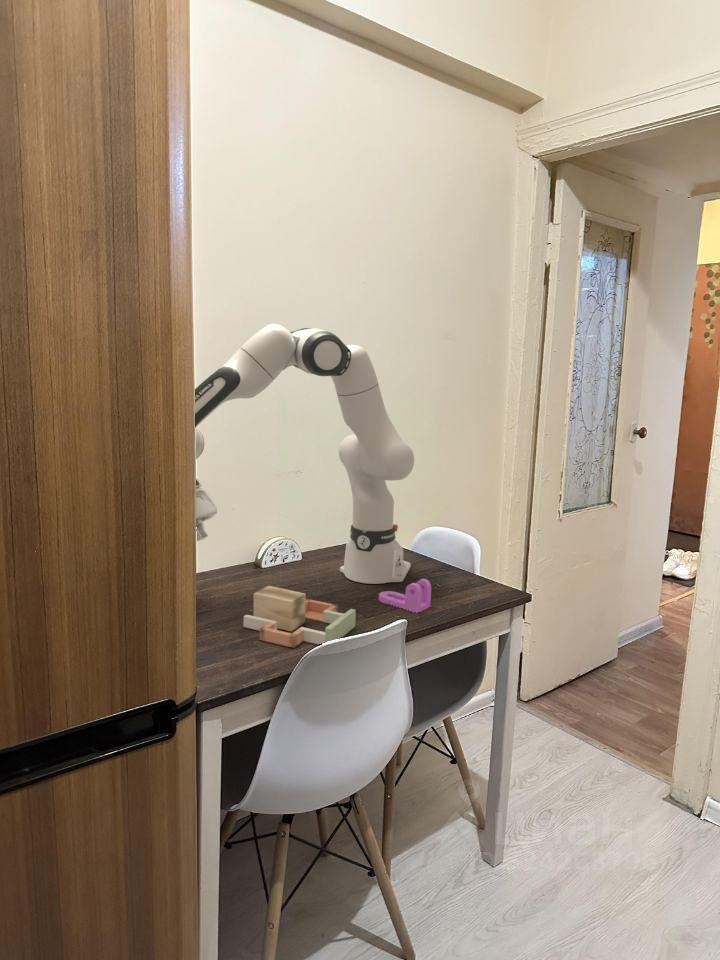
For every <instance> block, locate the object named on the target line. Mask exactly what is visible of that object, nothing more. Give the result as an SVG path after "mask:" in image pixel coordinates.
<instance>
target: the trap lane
mask: <svg viewBox="0 0 720 960" xmlns="http://www.w3.org/2000/svg"><path fill="white" fill-rule="evenodd" d="M356 611H357V610H356V609H353V608H350V609H349V610H347V611H346V612H345V613H343V612H339V605H338V604H333V603H329V602H325V601H324V602H323V601H320V600H319V601H318V600H316V599H315V600H314V599H310V598H306V604H305V619H309V620H313V621H318V622H321V623H325V624H329V625H328V626H326V627H324V628H325V629H324V630H325V631H321V630H317V629H312V628H308V627H304V626H301V627H300V626H299V627H298V628H297V629H295V631H292V633H291V632H288V631H282V630H280V629H279V630H278V628H277V621H273V620H269V619H264V618H260V617H255V616H254V615H250V614H245V615H243V628H247V629H251V630H256V631H258V632H259V641H262V642H267V643H272V644H275V645H279V646H284V647H289V648H291V647H292V648H293V649H295V648H296V647H297V646H298V645H300V644H302V642H306V643H310V644H315V645H319V644H321V643H324V642H327V641H330V640H333V639H337V638H340V637H342V638H344V637H345V636H346V635H347V634H348V633H349V632H350V631H351V630H353V629H355V627H356V616H357V615H356V614H357V612H356ZM319 646H320V645H319Z"/></svg>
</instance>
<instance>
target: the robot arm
mask: <svg viewBox="0 0 720 960" xmlns="http://www.w3.org/2000/svg"><path fill="white" fill-rule="evenodd" d="M292 366H294V367H295V368H297V369H299V370H301V371H303V372H305V373H307V374H309V375H315V376H319V377H331V379H332V382H333V384H334V388H335V392H336V396H337V399H338V404H339V407H340V410H341V414H342V417H343V420H344V423H345V424H346V426H347V427H348V428H349V429H350V430H351V431H352V432H353V434H348V435H347V436H346V437H344V438H343V439H342V441H341V442H340V445H339V448H338V457H339V460H340V462H341V464H343V466H344V468H345V471H346V473H347V477H348V480H349V484H350V490H351V493H352V524H351V525H350V532H349V534H350V537H349V538H350V540H349V541H348V542H347V543H346V544H345V552H344V553H345V554H344V561H343V562H344V563H343V565H341V566H340V567H339V572H340V573H343V574H344V576H345V577H346V578H347V579H349V580H351V581H353V582H356V583H361V584H370V585H372V584H373V585H374V584H375V585H377V584H386V583H402V582H403V581H405V580H404V579H406V576H407V574H408V573H409V571H410V569H411V567H412V563H410V562H408V561H406V560H404V547H402V546H401V544H399V542H398V541H397V540H396V533H397V531H398V529H399V525H398V524H394V510H395V509H394V506H395V499H394V497H393V495H392V493H391V492H390V490H389V489H388V486H387V483H386V481H402V480H404V479H406V478H407V477H408V476H410V474H411V473H412V471H413V468H414V465H415V455H414V452H413V450H412V448H411V447H410V446H409V445H408V444H407V443H406V442H405V441H403V439H402V438H401V436H400V435H399V433H398V431H397V430H396V428H395V426H394V425H393V422H392V421H391V419H390V417H389V415H388V412H387V410H386V407H385V404H384V400H383V395H382V393H381V388H380V385H379V381H378V377H377V373H376V371H375V368H374V365H373V362H372V360H371V358H370V356H369V354H368V352H367V350H366V349H365V348H364V347H363V346H360V345H357V344H347V345H346V344H345V343H344V342H343V341H342V339H340V338H339V336H337V335H336V334H335V333H332V332H330V331H328V330H324V329H322V328H316V327H315V328H311V327H306V328H305V327H303V328H300V329H296V330H292V331H290V330H289V329H288V328H286V327H285V326H283V325H280V324H277V323H269V324H268V325H266V326H264V327H262V328H261V329H260V330H258V331H257V332H256V333H255V334H253V335H252V336H251V337H250V338H248V339H247V340H246V341H245V342H244V343H243V344H242V345H240V347H239V348H238V349H237V350H236V351H235V352H234V353H233V354H232V355H231V357H230V358H228V360H226V361H225V362H224V363H223V364H222V365H221V366H220V367H219V368H217V370H215V371H214V372H213V373H212V374H211V375H209V376H208V377H207V378H206V379H205V380H203V381H202V382H201V383H200V384H199V385H198V386H197V387H195V389H194V390H195V428H196V460H198V458H199V457H200V456H201V455H202V454H203V453H204V452H203V451H204V449H205V438H204V435H203V434H202V432H201V431H200V430H199V429H198V428H197V427H198V426H199V425H200V424H201V423H202V422H203V421H205V419H206V418H207V417H209V416H210V415H211V414H212V413H213V412H214V411H215V410H216V409H217V408H219V407H220V406H221V405H223V404H225V403H226V402H228V401H232V400H236V399H252V398H255V397H256V396H258V394H260V393H262V392H263V391H264V390H266V388H268V387H269V386H270V385H271V383H273V382H274V380H276V379H277V378H278V376H279V375H280V374H281V373H282V372H283V371H285V370H286V369H288V368H290V367H292ZM201 486H202V482H201V481H200V479H198V478H196V527H197V529H196V531H197V541H196V542H199V541H202V540H205V539H206V538H207V537H208V533H207V531H206V530H205V524H204V522H206V521H209V520H210V519H212V518H213V517H215V515H216V514H217V513H218V507H217V506H216V504H215V502H214V500H213V499H212V498H211V496H210V495H209V493H207V491H206V490H205V489H204V488H202V487H201Z"/></svg>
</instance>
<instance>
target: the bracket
mask: <svg viewBox="0 0 720 960" xmlns="http://www.w3.org/2000/svg"><path fill="white" fill-rule="evenodd" d="M431 600H432V584H431V582H430V580H428V579H427V578H421V579H419V580H417V581H416V582H412V583H409V584H407V586H406V587H405V594H403V593H401V592H397V591H392V590H389V591H388V590H385V591H381V592H379V593H378V601H380V603H383V604H387V605H389V604H390V605H389V606H392V605H393V606H392V607H395V606H396V608H398V607H399V608H398V609H401V608H403V609H402V610H405V609H406V610H405V611H408V610H409V611H408V612H411V611H412V612H411V613H414V612H416V613H415V614H417V613H418V612H420V613H422V612H424V611H425V609H426V610H428V609H430V608H431V602H432V601H431ZM429 607H430V608H429ZM427 608H428V609H427ZM423 610H424V611H423ZM421 611H422V612H421ZM418 614H419V613H418Z"/></svg>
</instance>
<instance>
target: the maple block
mask: <svg viewBox="0 0 720 960" xmlns="http://www.w3.org/2000/svg"><path fill="white" fill-rule="evenodd" d="M306 594H307V593H304V592H301V591H295V590H291V589H286V588H282V587H281V588H280V587H277V586H272V585H267V586H265V587H263V588H261V589H260V590H257V591H256V592H254V593H253V616H255V617H260V618H264V619H269V620H273V621H277V630H278V629H279V630H281V631H282V630H284V631H285V632H289V633H291V632H294V630H297V629H298V628H300V626H302V625H303V624H305V623H306V618H305V604H306V599H307V598H306V596H307V595H306Z"/></svg>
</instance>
